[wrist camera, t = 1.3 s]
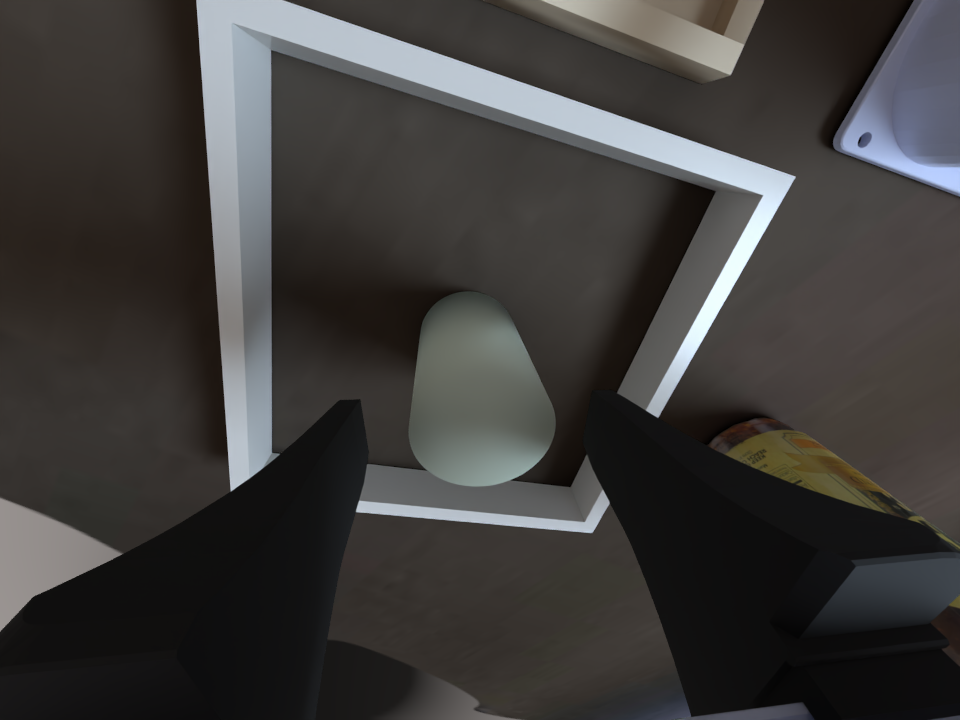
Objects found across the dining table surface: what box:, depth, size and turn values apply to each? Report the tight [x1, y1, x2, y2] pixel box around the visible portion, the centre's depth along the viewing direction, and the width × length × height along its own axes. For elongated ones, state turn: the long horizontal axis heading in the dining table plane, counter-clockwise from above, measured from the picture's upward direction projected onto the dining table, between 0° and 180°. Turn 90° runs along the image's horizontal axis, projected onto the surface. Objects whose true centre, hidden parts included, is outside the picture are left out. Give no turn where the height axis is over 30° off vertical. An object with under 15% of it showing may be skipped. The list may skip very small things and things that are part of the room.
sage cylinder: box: [408, 291, 556, 487], centre depth 14 cm, size 4×4×7 cm
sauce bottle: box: [707, 418, 960, 666], centre depth 14 cm, size 6×6×20 cm
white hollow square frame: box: [196, 0, 795, 533], centre depth 16 cm, size 19×19×2 cm
